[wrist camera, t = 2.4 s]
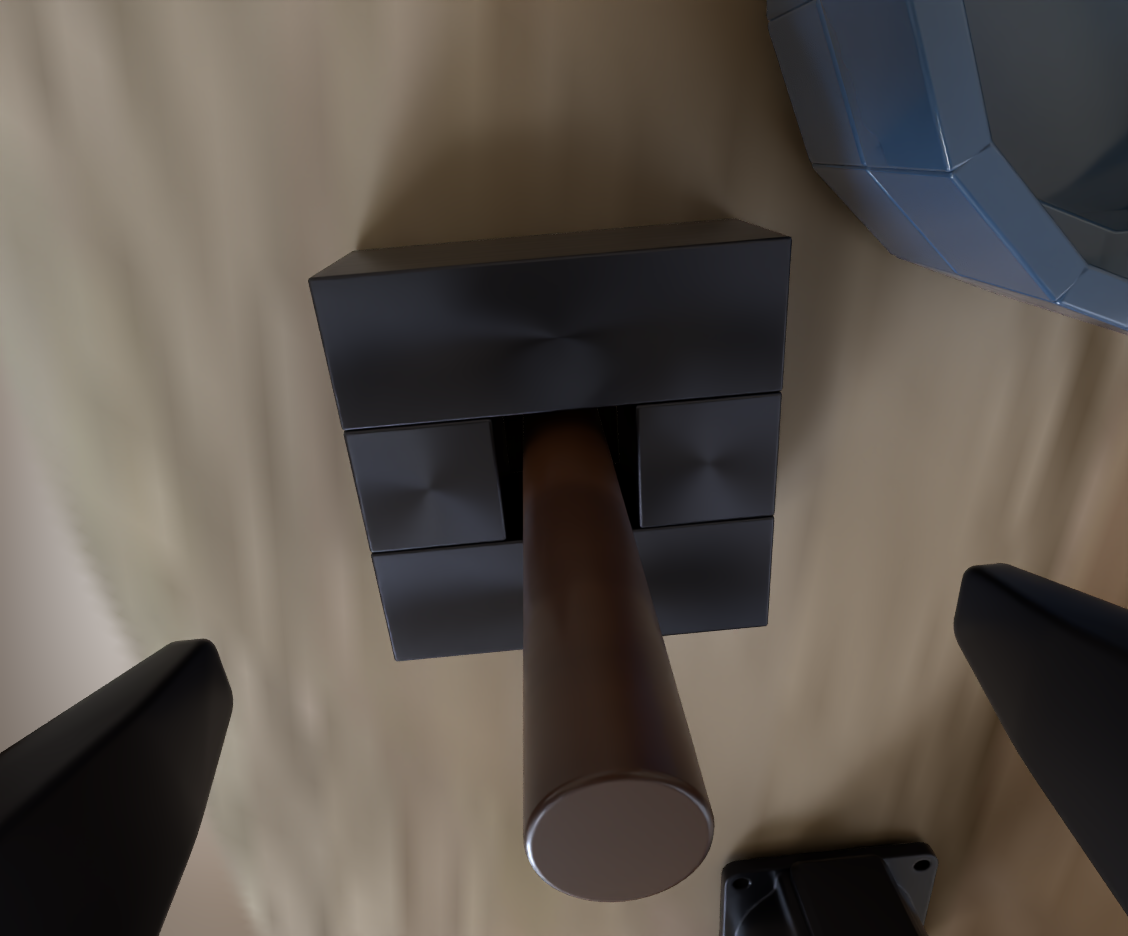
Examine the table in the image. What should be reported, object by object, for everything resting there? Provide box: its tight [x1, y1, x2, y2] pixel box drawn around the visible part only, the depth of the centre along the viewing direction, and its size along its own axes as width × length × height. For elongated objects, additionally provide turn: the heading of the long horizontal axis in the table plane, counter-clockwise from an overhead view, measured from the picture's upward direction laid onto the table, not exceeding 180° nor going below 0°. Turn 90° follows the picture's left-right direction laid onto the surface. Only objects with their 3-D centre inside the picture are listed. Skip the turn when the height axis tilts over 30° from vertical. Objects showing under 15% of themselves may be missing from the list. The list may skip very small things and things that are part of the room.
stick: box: [523, 408, 714, 902], centre depth 10 cm, size 2×2×10 cm
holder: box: [308, 218, 792, 661], centre depth 13 cm, size 7×7×3 cm
